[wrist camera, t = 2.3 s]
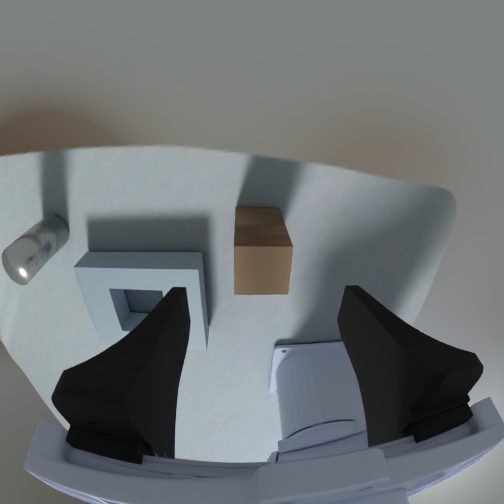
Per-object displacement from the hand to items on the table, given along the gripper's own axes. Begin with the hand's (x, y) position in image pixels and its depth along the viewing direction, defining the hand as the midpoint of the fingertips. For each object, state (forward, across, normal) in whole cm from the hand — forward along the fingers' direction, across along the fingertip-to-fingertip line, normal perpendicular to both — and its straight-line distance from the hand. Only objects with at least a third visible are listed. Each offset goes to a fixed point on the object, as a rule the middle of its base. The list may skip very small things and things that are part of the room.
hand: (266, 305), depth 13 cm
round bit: (+9, +17, 0) cm, 19 cm away
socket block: (+9, +9, +6) cm, 14 cm away
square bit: (+9, 0, 0) cm, 9 cm away
